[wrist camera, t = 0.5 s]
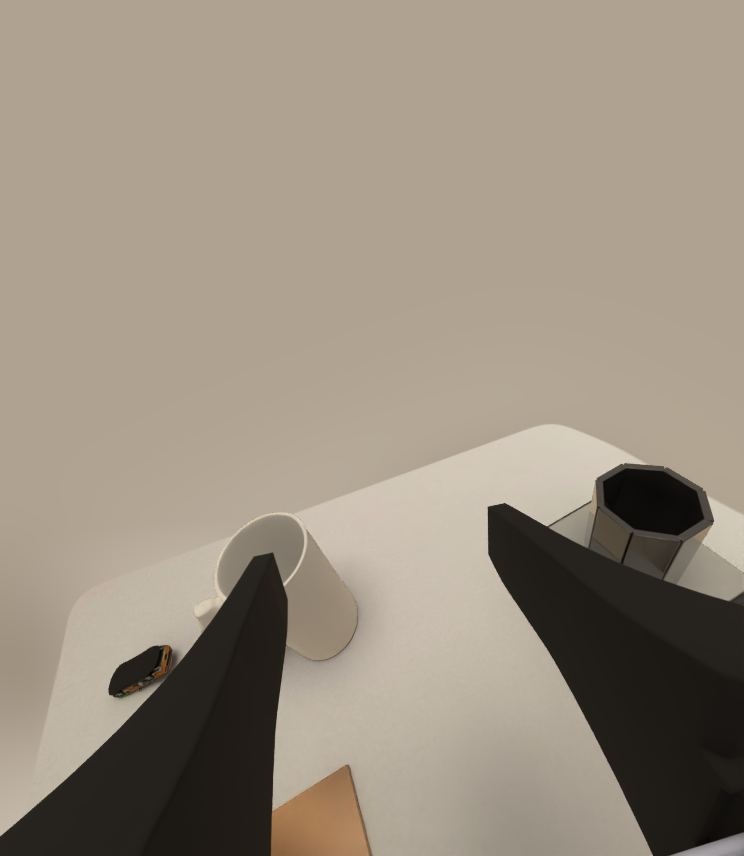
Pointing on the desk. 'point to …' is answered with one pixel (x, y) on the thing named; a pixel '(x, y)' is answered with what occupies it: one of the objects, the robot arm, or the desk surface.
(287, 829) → the coaster
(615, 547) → the cup
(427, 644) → the desk surface
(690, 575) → the scale
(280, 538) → the mug
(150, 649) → the toy car
